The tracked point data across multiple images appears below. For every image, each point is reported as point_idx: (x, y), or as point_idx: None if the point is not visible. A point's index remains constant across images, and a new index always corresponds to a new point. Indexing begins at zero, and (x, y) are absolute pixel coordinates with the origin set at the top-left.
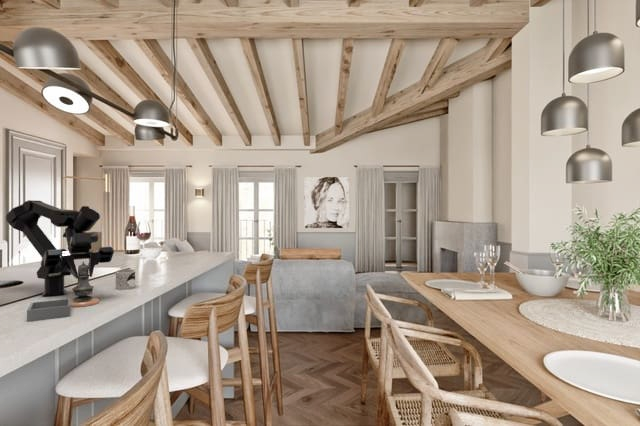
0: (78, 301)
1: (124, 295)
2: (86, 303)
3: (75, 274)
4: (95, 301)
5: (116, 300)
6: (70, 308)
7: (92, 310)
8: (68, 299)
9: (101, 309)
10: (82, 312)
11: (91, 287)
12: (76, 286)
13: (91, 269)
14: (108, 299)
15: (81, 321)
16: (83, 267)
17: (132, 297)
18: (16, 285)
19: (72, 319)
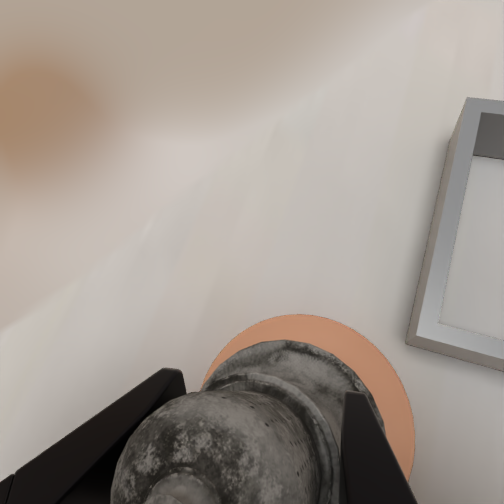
0: None
1: (13, 458)
2: (306, 316)
3: (376, 420)
4: (242, 332)
5: (117, 342)
6: (439, 204)
7: (313, 188)
8: (438, 323)
9: (269, 177)
10: (371, 180)
11: (225, 371)
12: None
13: (113, 426)
14: None
15: (420, 13)
16: (231, 402)
17: (22, 348)
18: None
19: (451, 70)
